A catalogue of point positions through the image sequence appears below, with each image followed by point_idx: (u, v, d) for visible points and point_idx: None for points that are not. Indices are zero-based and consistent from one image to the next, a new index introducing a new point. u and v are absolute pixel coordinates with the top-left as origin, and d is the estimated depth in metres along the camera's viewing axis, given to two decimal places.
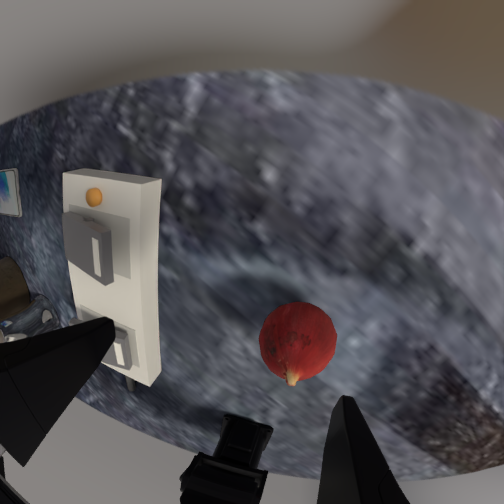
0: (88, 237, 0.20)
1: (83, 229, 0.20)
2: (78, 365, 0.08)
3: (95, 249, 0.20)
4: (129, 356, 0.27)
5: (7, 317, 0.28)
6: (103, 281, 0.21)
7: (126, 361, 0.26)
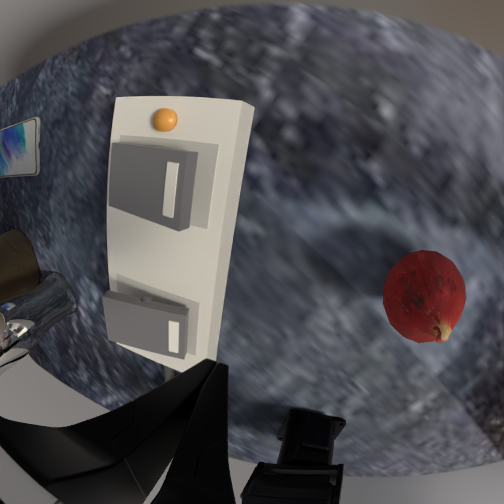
0: (159, 163, 0.16)
1: (151, 154, 0.16)
2: (186, 421, 0.07)
3: (169, 179, 0.16)
4: (186, 340, 0.22)
5: (12, 297, 0.23)
6: (176, 224, 0.16)
7: (182, 347, 0.21)
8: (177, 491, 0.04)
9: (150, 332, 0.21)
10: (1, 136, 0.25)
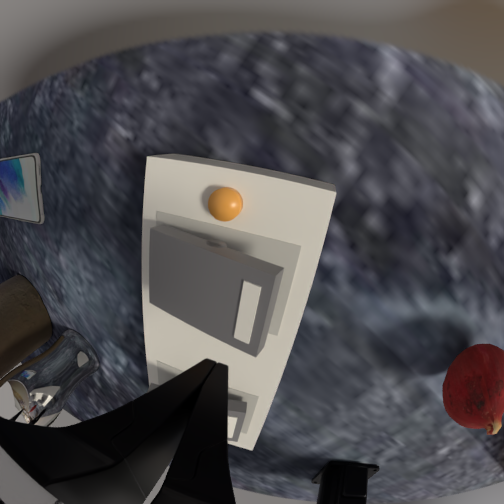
0: (230, 278, 0.13)
1: (216, 263, 0.13)
2: (186, 421, 0.07)
3: (246, 301, 0.13)
4: None
5: (28, 366, 0.20)
6: (253, 350, 0.13)
7: (237, 434, 0.19)
8: (177, 491, 0.04)
9: None
10: None
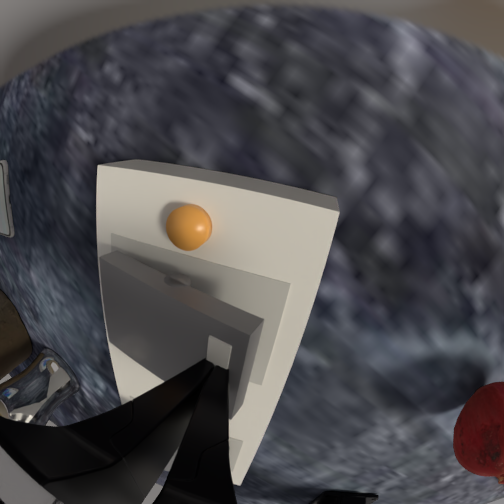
0: (192, 330, 0.09)
1: (174, 309, 0.09)
2: (185, 420, 0.07)
3: (214, 360, 0.09)
4: None
5: (4, 388, 0.16)
6: None
7: None
8: (178, 492, 0.04)
9: None
10: None
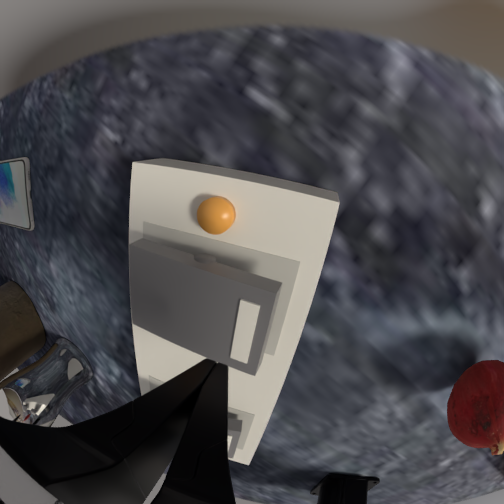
0: (224, 297, 0.11)
1: (208, 281, 0.11)
2: (186, 421, 0.07)
3: (243, 320, 0.12)
4: None
5: (20, 376, 0.19)
6: (252, 369, 0.12)
7: (232, 451, 0.17)
8: (177, 491, 0.04)
9: None
10: None
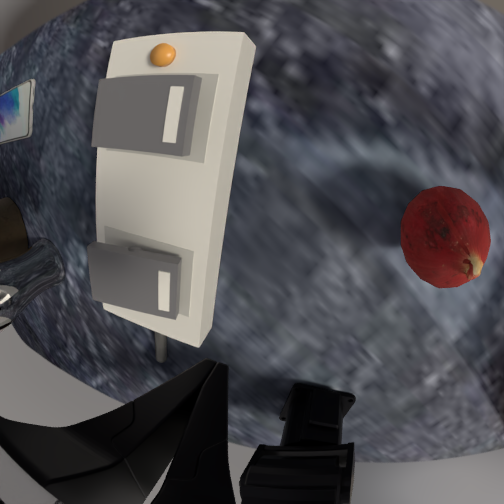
0: (160, 89, 0.13)
1: (150, 82, 0.13)
2: (186, 421, 0.07)
3: (172, 103, 0.14)
4: (178, 296, 0.20)
5: None
6: (179, 149, 0.14)
7: (173, 304, 0.19)
8: (177, 491, 0.04)
9: (138, 287, 0.19)
10: None
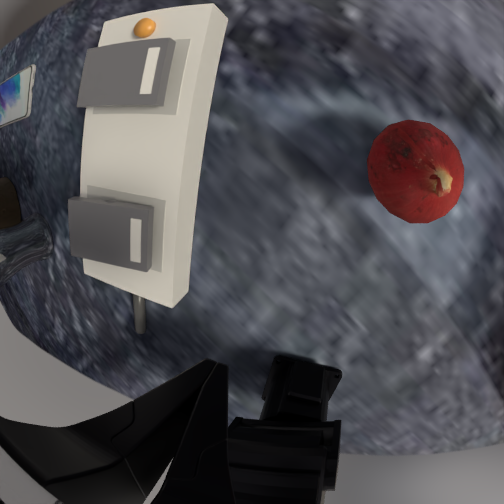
0: (139, 52, 0.14)
1: (131, 46, 0.14)
2: (186, 420, 0.07)
3: (149, 61, 0.14)
4: (150, 247, 0.20)
5: None
6: (154, 99, 0.15)
7: (144, 255, 0.19)
8: (177, 491, 0.04)
9: (112, 237, 0.19)
10: None
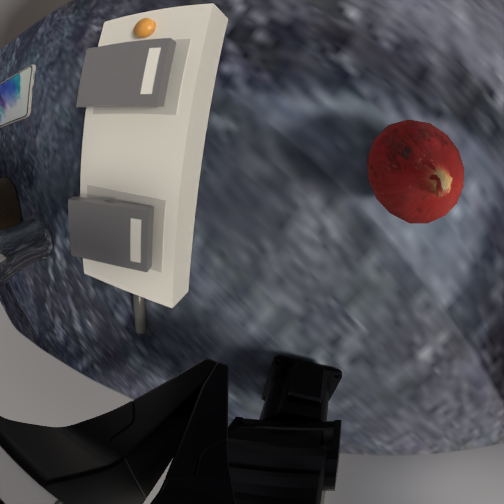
0: (140, 52, 0.14)
1: (131, 46, 0.14)
2: (186, 420, 0.07)
3: (150, 61, 0.14)
4: (150, 247, 0.20)
5: None
6: (155, 99, 0.15)
7: (144, 255, 0.19)
8: (177, 491, 0.04)
9: (112, 237, 0.19)
10: None
